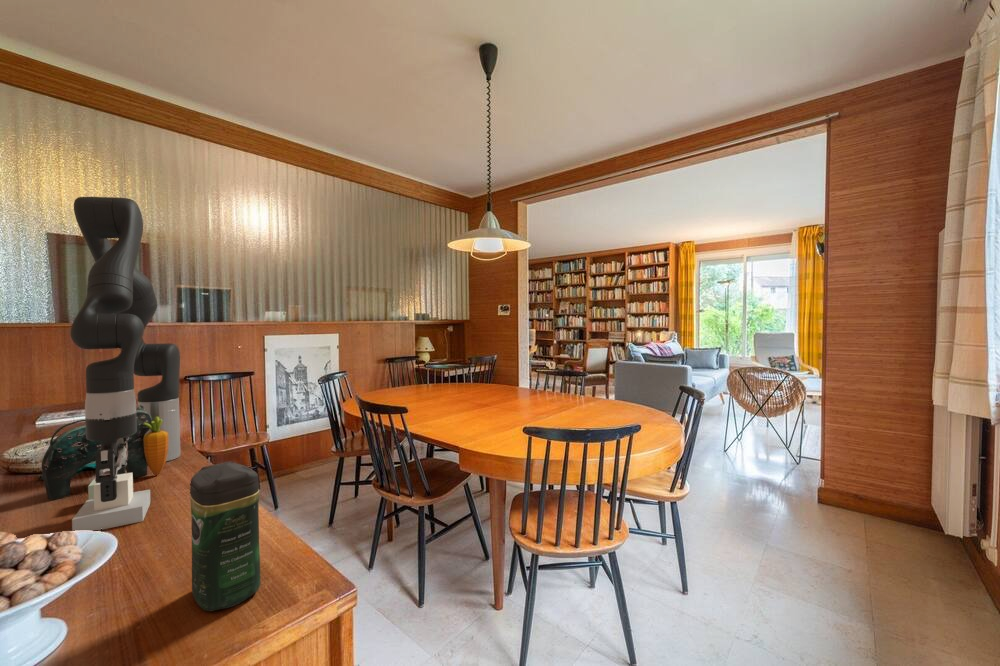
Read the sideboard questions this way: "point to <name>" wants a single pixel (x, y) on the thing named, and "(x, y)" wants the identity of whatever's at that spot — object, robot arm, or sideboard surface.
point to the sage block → (91, 490)
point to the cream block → (122, 493)
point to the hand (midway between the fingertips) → (113, 492)
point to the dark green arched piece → (87, 455)
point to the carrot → (156, 446)
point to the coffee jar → (224, 535)
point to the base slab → (112, 514)
